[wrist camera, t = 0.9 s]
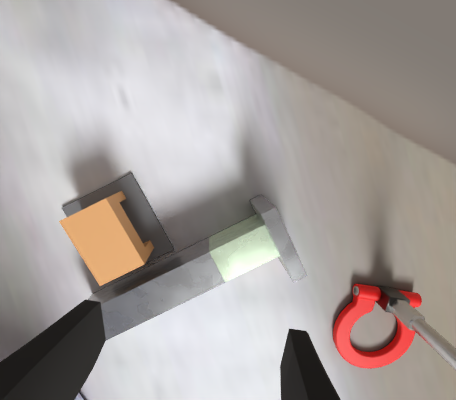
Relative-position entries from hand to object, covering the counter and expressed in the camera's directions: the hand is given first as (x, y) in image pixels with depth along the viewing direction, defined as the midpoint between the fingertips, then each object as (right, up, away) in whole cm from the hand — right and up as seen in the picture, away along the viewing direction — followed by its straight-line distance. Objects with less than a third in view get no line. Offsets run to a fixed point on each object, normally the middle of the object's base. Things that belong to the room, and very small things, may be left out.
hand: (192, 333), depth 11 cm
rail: (-3, -2, +16) cm, 17 cm away
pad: (-9, +2, +15) cm, 18 cm away
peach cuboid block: (-9, +2, +15) cm, 18 cm away
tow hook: (+17, -8, +19) cm, 27 cm away
